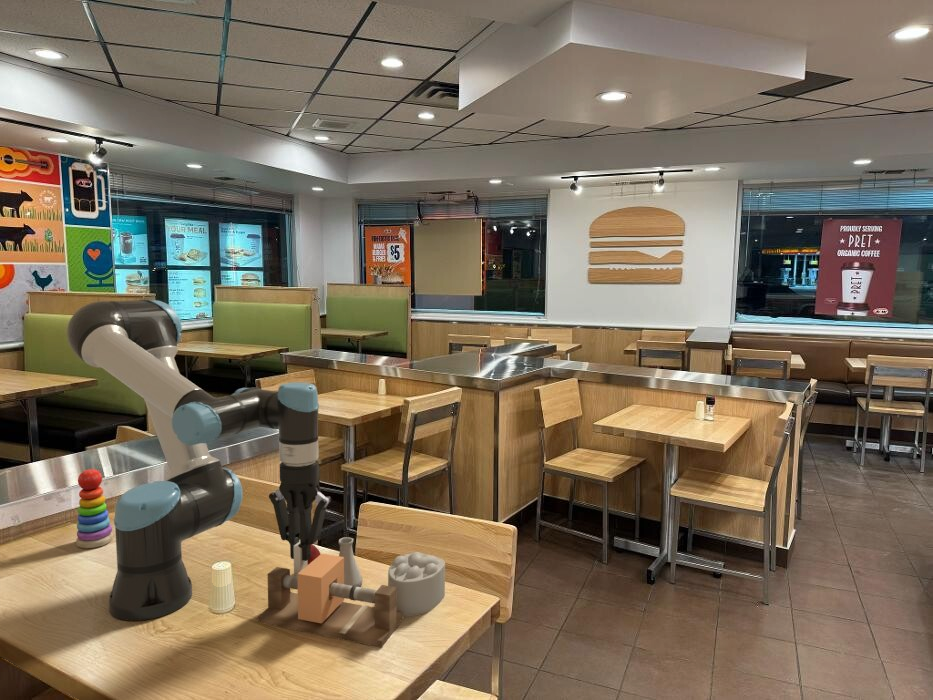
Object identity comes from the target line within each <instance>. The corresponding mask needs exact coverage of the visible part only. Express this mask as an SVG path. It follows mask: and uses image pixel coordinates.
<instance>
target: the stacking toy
mask: <svg viewBox="0 0 933 700" xmlns="http://www.w3.org/2000/svg"><path fill="white" fill-rule="evenodd" d="M102 482H103V475H102V473H101V472H100V471H99V470H97V469H94V468H92V469H90V468H89V469H86V470H83V471H82V472H81V473H80V474H79V475H78V478H77V484H78V485H79V487H80V488H81V490H80V491H79V493H78V496H79V498H80V499H79V502H78V504H79V506H78V508H77V513H78V515H77V521H78V522H77V524H76V529H77V532H76V537H77V538H76V539H75V544H76V546H77V547H78V548H79V549H80V548H81V549H95V548H99V547H103V546H105V545H107V544H109V543H110V542H112V541H113V539H114V533H113V526H112V525H111V524H110V523H111V521H110V517H109V511H108V510H107V507H108V506H107V503H105V502H106V497H105V495H103V493H104V489H103V488H102V487H101V484H102Z"/></svg>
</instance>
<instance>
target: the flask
mask: <svg viewBox="0 0 933 700" xmlns="http://www.w3.org/2000/svg"><path fill="white" fill-rule="evenodd" d="M353 543H354V538H352V537H349V536H348V537H346V536H345V537H342V538H339V539H338V546H339V553H338V556H340V557H344V584H345V585H350V586H358V587H361V586H362V585H363V576H362V573H361V571H360V569H359V566H358V564H357V562H356V558H355V555H354V552H353V551H354V550H353Z"/></svg>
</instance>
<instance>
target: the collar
mask: <svg viewBox="0 0 933 700" xmlns="http://www.w3.org/2000/svg"><path fill="white" fill-rule="evenodd" d="M320 554H321V555H319V556H318V557H317V558H316V559H315V560H313V561H312V562H311V563H310V564H309V565H307V566H306V567H305V568H304V569H303V570H301V571H300V572H299V573H298V590H297V594H298V619H301V620H306V621H311V622H317V623H323V622H324V621H325V620H326V618H327V617H328V616H329V615H330V614H331V613H332V612H333V611H334V610H335V609H336V608H337V607H338V606H339V605H340V604H341V603H342V602H345V598H341V597H335V596H330V595H329V585H330V584H331V583H332V582H333V583H339V584H344V557H340V556H339V555H334V554H327V553H320Z"/></svg>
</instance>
